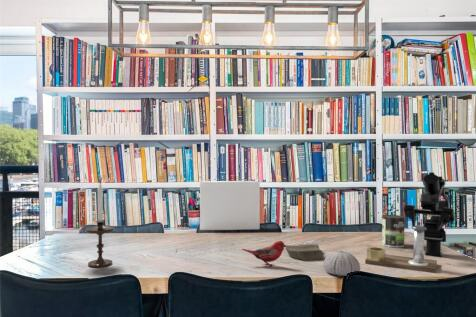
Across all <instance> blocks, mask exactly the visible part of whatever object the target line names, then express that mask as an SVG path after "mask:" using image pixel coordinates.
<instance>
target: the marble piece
mask: <svg viewBox="0 0 476 317" xmlns="http://www.w3.org/2000/svg"><path fill="white" fill-rule="evenodd" d="M286 246H287V247H285V250H286V252H287V254H288V255H289V257H291V258H293V259H296V260H297V259H298V260H301V261H319V260H321V259H323V251H322V250H321V249H320V247H319V244H318V243H312V244H299V245H298V244H297V245H286Z"/></svg>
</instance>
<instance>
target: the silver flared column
mask: <svg viewBox="0 0 476 317" xmlns="http://www.w3.org/2000/svg"><path fill="white" fill-rule="evenodd" d="M411 229H412V230H413V251H412V252H413V253H412V255H413V256H412V258H413V262H414V263H419V264H422V263H423V262H424V259H425V258H424V256H425V252H424V251H425V250H424V249H425V240H424V230H427V227H424V225H415V226H412V225H411Z"/></svg>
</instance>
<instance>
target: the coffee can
mask: <svg viewBox="0 0 476 317" xmlns="http://www.w3.org/2000/svg"><path fill="white" fill-rule="evenodd" d="M381 219H382V220H381V222H382V223H381V225H382V226H381V227H382V228H381V230H382V232H381V245H382V246H384V247H388V248H397V249H398V248H400V249H401V248H403V247H404V248H405V219H406V216H404V215H398V214H397V215H396V214H383V215H382V216H381Z"/></svg>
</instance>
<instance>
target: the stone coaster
mask: <svg viewBox="0 0 476 317" xmlns="http://www.w3.org/2000/svg"><path fill="white" fill-rule="evenodd" d="M408 263H409V264H410V265H414V266H428V263H427V262H425V261H424V262H423V263H422V264H419V263H414V262H413V260H409V261H408Z"/></svg>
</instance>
